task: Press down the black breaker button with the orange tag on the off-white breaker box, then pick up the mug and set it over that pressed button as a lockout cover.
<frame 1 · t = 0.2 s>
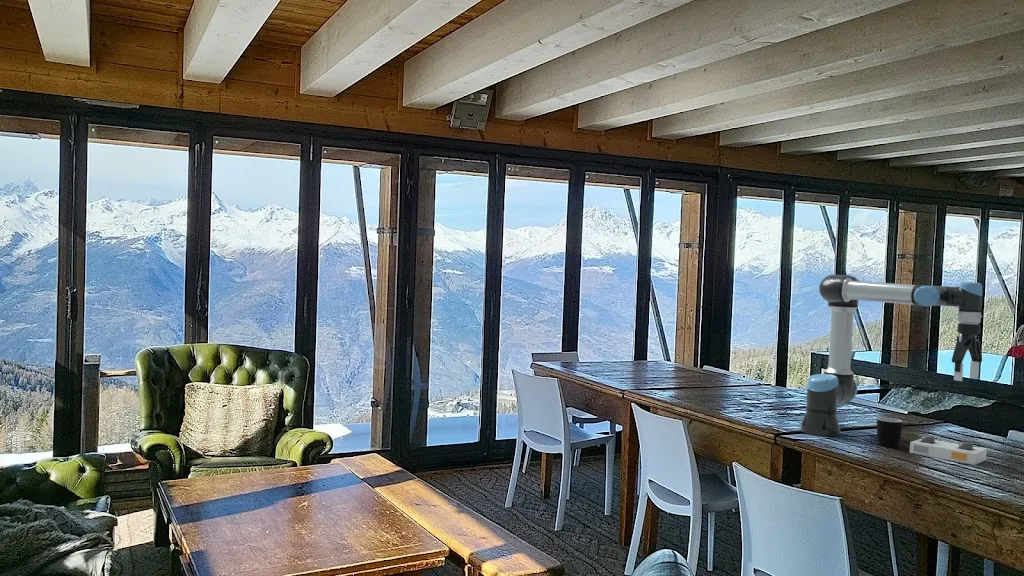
hand: (966, 379, 318), 27 cm above the table, fingers open, 13 cm apart
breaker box: (947, 456, 310), on the table
plain breaker: (928, 440, 315), point 5 cm above the table, slide at 0.0 cm
mug: (886, 445, 326), on the table
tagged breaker: (965, 447, 305), point 4 cm above the table, slide at 0.0 cm
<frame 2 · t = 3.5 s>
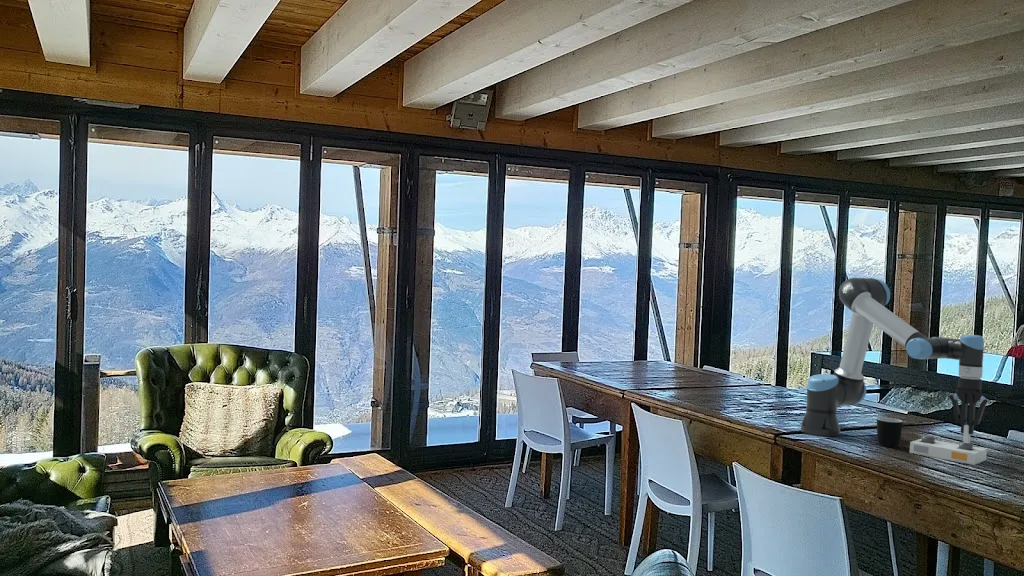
hand: (966, 442, 305), 6 cm above the table, fingers closed
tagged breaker: (965, 447, 305), point 4 cm above the table, slide at 0.1 cm, touching gripper
everything else where it was.
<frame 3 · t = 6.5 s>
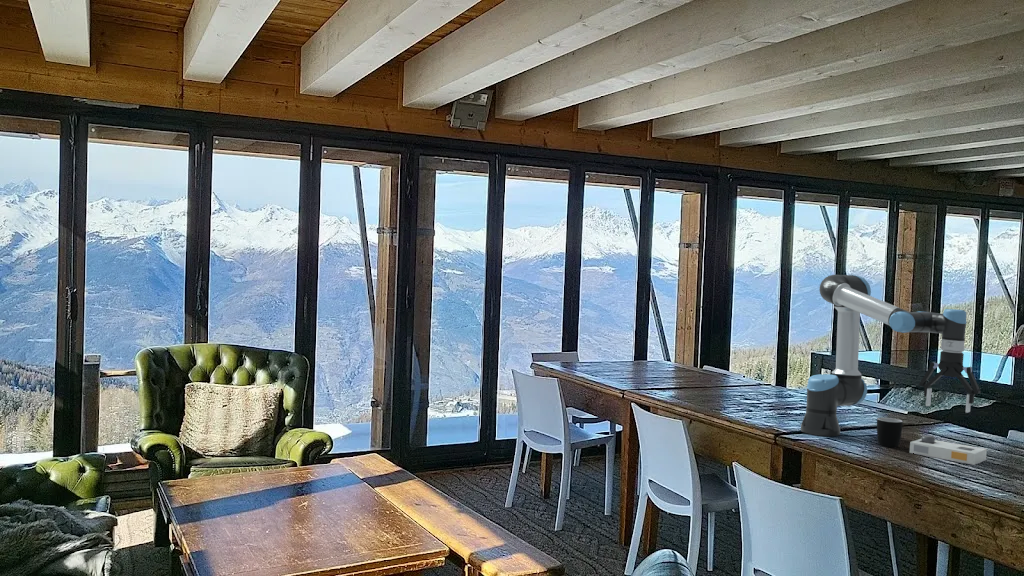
hand: (947, 409, 310), 17 cm above the table, fingers open, 13 cm apart
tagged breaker: (965, 453, 305), point 2 cm above the table, slide at 2.2 cm
everything else where it was.
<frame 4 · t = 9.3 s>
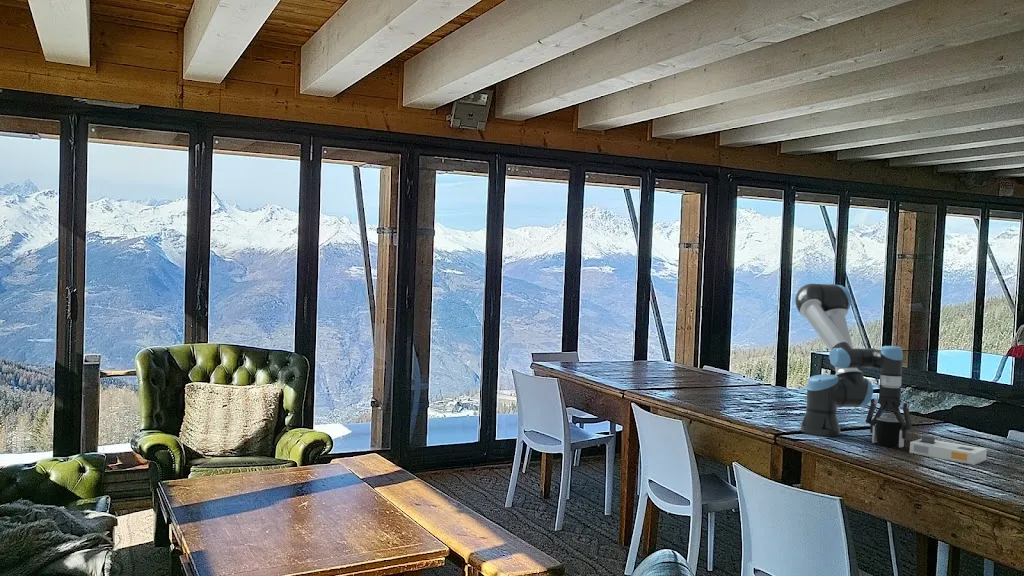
hand: (887, 444, 325), 0 cm above the table, fingers closed on mug, 9 cm apart
mug: (885, 445, 326), on the table, touching gripper
everything else where it was.
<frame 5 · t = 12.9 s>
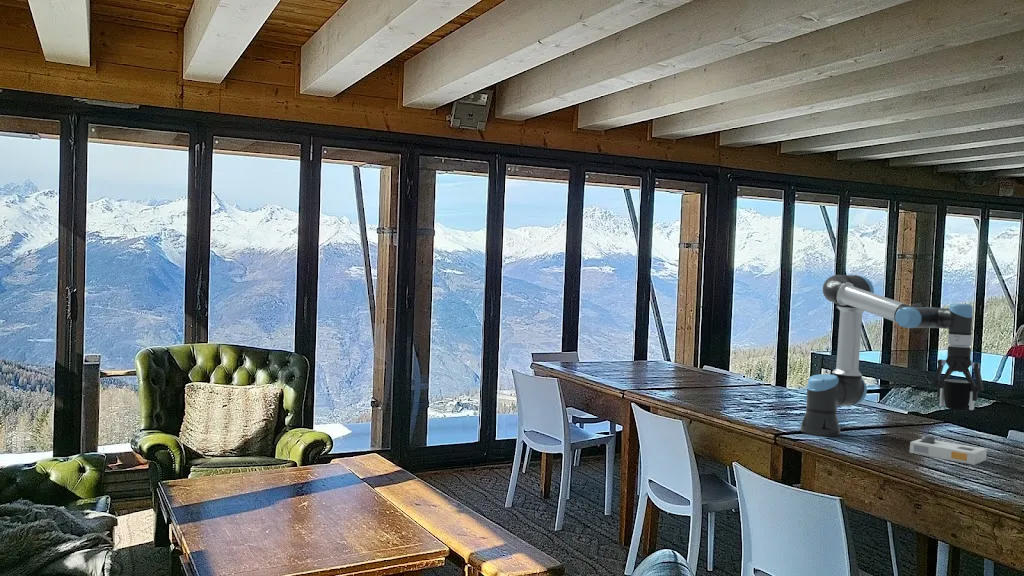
hand: (956, 407, 308), 18 cm above the table, fingers closed on mug, 9 cm apart
mug: (954, 408, 308), point 18 cm above the table, touching gripper
everything else where it was.
when the fingers open (5 cm above the table, at t = 16.1 s): mug moves 1 cm, resting on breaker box.
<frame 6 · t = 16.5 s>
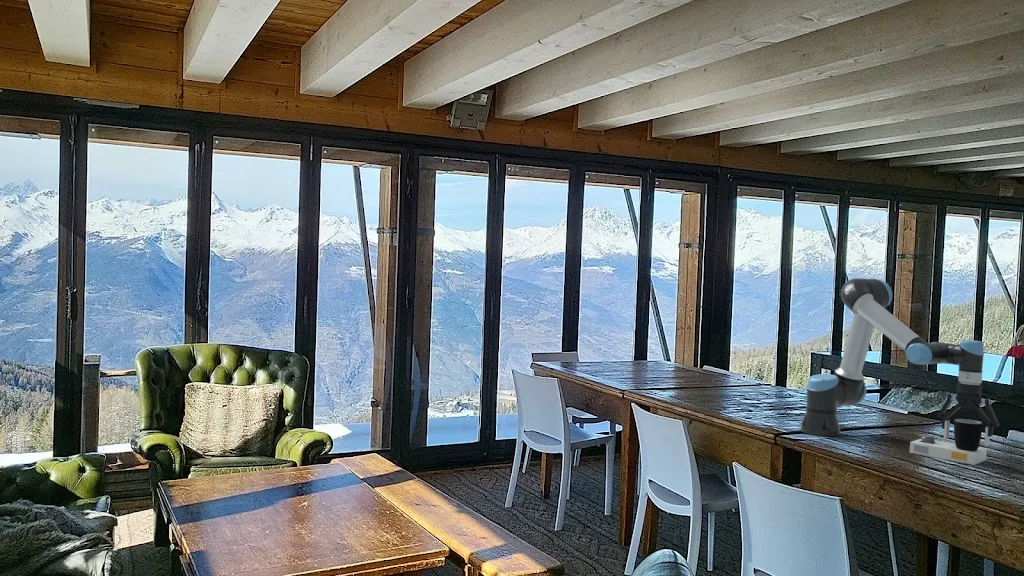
hand: (966, 441, 305), 6 cm above the table, fingers open, 13 cm apart
mug: (964, 448, 306), point 4 cm above the table, touching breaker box
everything else where it was.
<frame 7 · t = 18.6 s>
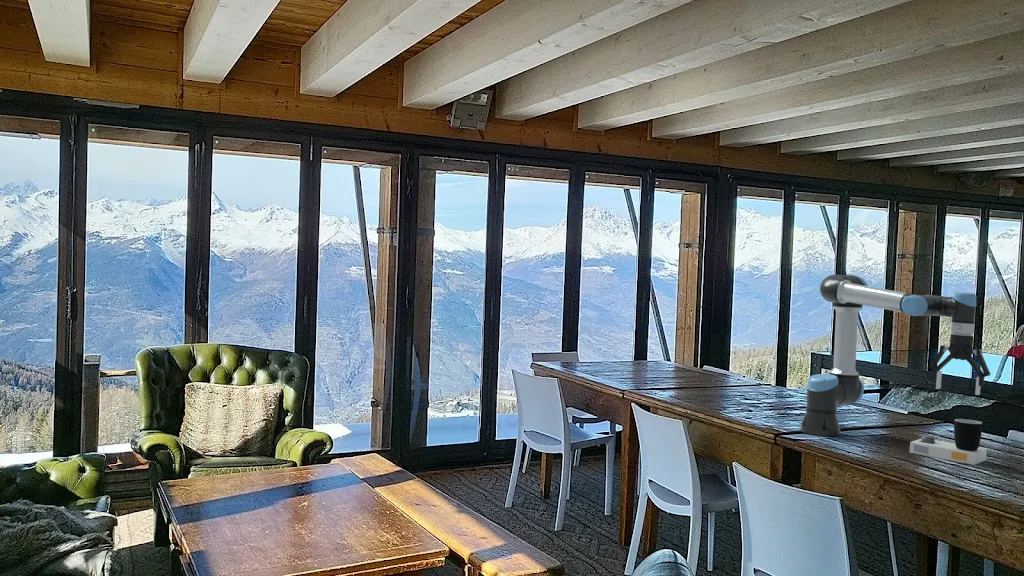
hand: (957, 391, 312), 24 cm above the table, fingers open, 13 cm apart
nothing on the table moved.
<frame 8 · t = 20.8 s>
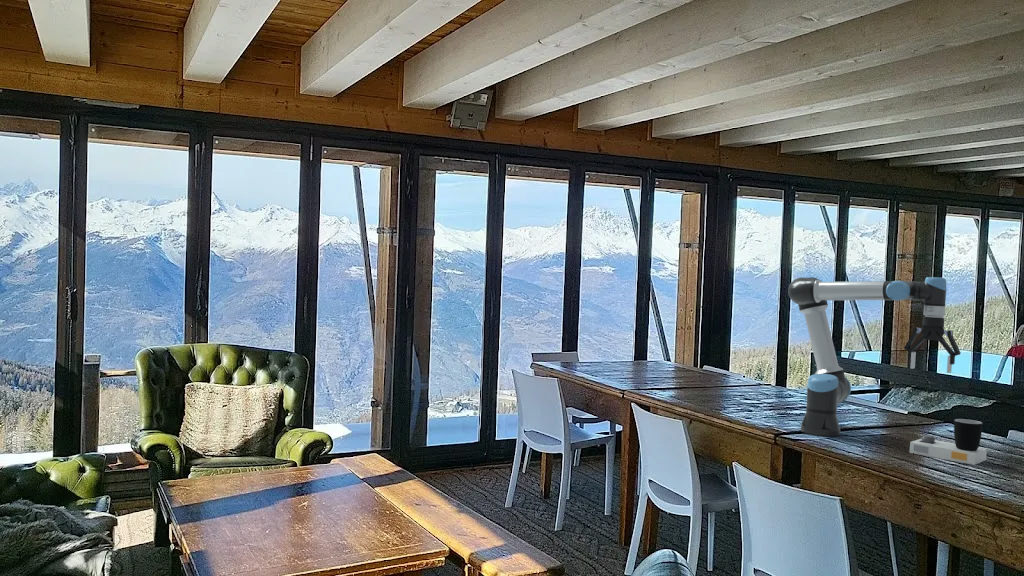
hand: (930, 370, 332), 29 cm above the table, fingers open, 13 cm apart
nothing on the table moved.
at the end: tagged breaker slide at 2.2 cm; mug 0.5 cm off-centre on the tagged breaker, point 6.0 cm above the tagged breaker's base; mug tilted 0° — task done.
